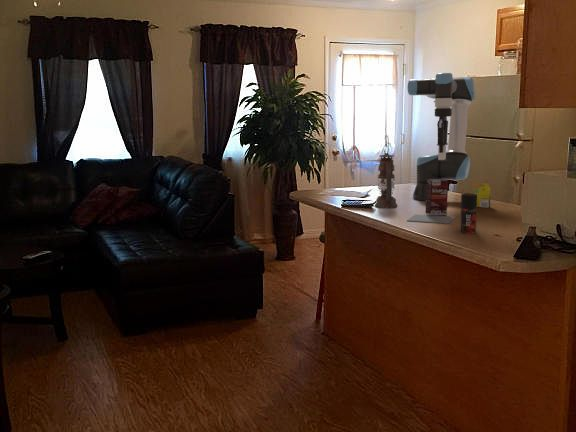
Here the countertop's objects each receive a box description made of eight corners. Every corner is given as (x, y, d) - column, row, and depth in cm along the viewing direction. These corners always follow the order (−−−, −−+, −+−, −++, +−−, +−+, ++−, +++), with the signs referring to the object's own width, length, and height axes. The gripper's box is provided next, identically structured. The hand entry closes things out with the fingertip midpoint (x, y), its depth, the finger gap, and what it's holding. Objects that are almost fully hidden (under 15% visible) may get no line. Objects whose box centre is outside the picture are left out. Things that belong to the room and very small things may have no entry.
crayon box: (490, 207, 302) (491, 183, 300) (488, 207, 300) (489, 183, 297) (475, 205, 306) (475, 182, 304) (473, 206, 304) (473, 183, 301)
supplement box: (430, 215, 280) (431, 180, 278) (425, 214, 285) (426, 179, 283) (447, 215, 282) (448, 180, 280) (442, 213, 287) (443, 179, 285)
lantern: (393, 203, 318) (394, 134, 311) (400, 208, 302) (401, 136, 295) (372, 204, 317) (372, 134, 311) (378, 209, 301) (378, 136, 295)
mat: (415, 215, 285) (415, 214, 284) (455, 217, 277) (455, 216, 277) (406, 221, 271) (407, 220, 271) (449, 223, 264) (449, 222, 264)
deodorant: (473, 230, 250) (474, 193, 247) (477, 233, 244) (479, 195, 242) (458, 230, 250) (459, 193, 247) (462, 233, 244) (464, 195, 241)
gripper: (438, 107, 292) (437, 157, 296) (431, 108, 278) (430, 160, 283) (454, 107, 289) (453, 158, 293) (448, 107, 275) (447, 161, 280)
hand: (441, 159), depth 288 cm, fingers open, 2 cm apart
